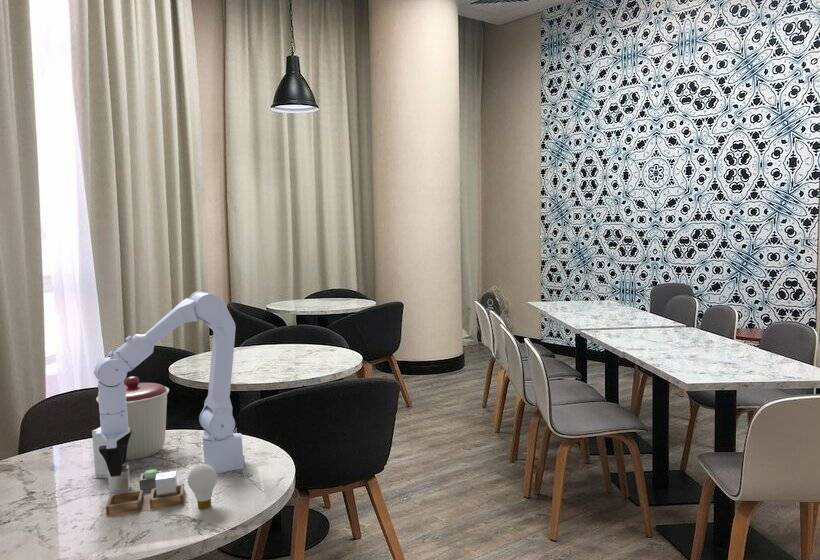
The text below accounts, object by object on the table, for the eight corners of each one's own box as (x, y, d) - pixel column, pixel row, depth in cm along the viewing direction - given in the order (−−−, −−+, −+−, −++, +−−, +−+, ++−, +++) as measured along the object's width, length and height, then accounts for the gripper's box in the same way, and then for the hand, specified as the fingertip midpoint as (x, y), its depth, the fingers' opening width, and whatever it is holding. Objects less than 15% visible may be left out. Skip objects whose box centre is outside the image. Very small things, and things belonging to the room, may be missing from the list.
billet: (130, 488, 157) (129, 465, 156) (129, 494, 153) (127, 471, 152) (112, 491, 155) (110, 467, 155) (109, 497, 152) (107, 473, 151)
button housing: (163, 485, 159) (162, 470, 159) (161, 492, 154) (160, 477, 154) (142, 488, 158) (141, 473, 157) (140, 495, 153) (139, 480, 153)
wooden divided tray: (185, 494, 153) (184, 482, 152) (184, 509, 145) (183, 496, 144) (110, 505, 148) (109, 493, 148) (105, 521, 140) (104, 508, 140)
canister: (125, 442, 192) (119, 369, 190) (185, 442, 190) (179, 368, 188) (86, 465, 175) (79, 385, 173) (152, 466, 172) (145, 384, 170)
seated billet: (177, 494, 150) (175, 470, 149) (177, 501, 146) (175, 477, 146) (158, 497, 149) (156, 473, 148) (157, 504, 145) (155, 480, 144)
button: (158, 485, 158) (157, 468, 157) (157, 489, 155) (156, 472, 155) (145, 487, 157) (144, 470, 157) (144, 491, 154) (143, 474, 154)
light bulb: (203, 519, 139) (199, 472, 138) (184, 513, 142) (180, 467, 141) (225, 508, 144) (222, 462, 143) (206, 503, 147) (202, 458, 146)
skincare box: (110, 479, 164) (106, 431, 163) (95, 478, 165) (90, 430, 164) (126, 470, 170) (122, 423, 169) (110, 469, 171) (106, 423, 170)
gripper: (99, 405, 158) (103, 461, 159) (88, 422, 144) (93, 484, 146) (131, 401, 160) (136, 457, 161) (124, 418, 146) (129, 479, 147)
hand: (118, 469), depth 154 cm, fingers open, 7 cm apart
